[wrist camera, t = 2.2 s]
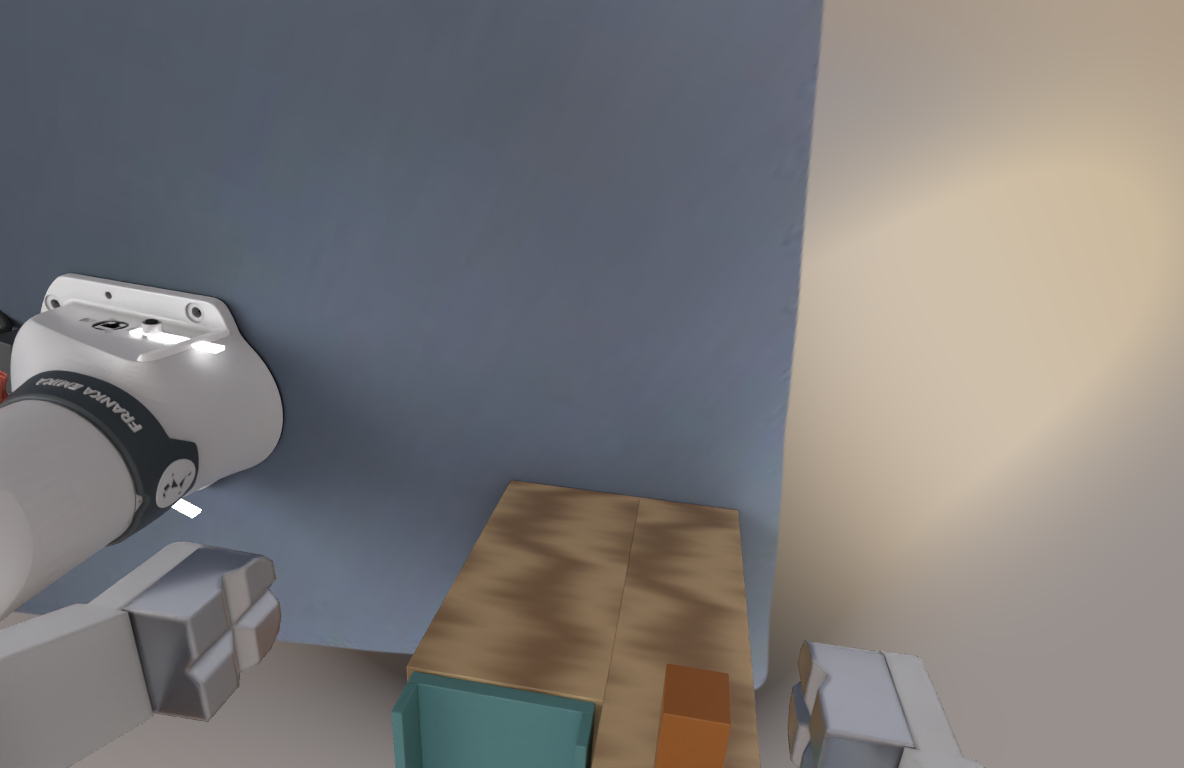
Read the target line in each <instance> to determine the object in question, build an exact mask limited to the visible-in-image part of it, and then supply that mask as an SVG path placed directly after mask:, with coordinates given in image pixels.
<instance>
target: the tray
mask: <svg viewBox="0 0 1184 768" xmlns="http://www.w3.org/2000/svg"><path fill="white" fill-rule="evenodd" d="M595 705H596V704H595V703H594V702H588V701H582V700H576V699H571V698H565V697H559V696H554V695H548V694H542V693H536V692H531V691H525V690H519V689H513V688H508V687H502V686H496V685H491V684H485V683H479V682H473V681H468V680H462V679H456V678H450V677H445V676H439V675H433V674H428V673H422V672H416V671H414V672H413V673H412V675H411V677H410V679H409V680H408V683H407V684H406V686H405V688H404V690H403V691H402V693H401V695H400V697H399V699H398V701H397V703H396V704H395V706H394V708H393V710H392V713H391V714H392V726H393V740H394V752H395V766H396V768H591V758H592V745H593V732H594V718H595Z"/></svg>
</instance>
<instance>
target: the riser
mask: <svg viewBox="0 0 1184 768" xmlns="http://www.w3.org/2000/svg"><path fill="white" fill-rule="evenodd" d="M667 664H674V665H680V666H686V667H693V668H699V669H705V670H711V671H717V672H723V673H728V674H729V685H730V708H731V729H730V735H729V740H728V746H727V751H726V757H725V763H724V768H761V765H760V753H759V742H758V730H757V719H756V707H755V696H754V684H753V673H752V661H751V650H750V639H749V627H748V616H747V604H746V593H745V581H744V570H743V559H742V547H741V536H740V524H739V513H738V510H732V509H725V508H717V507H710V506H702V505H694V504H687V503H679V502H672V501H664V500H657V499H649V498H640V497H634V496H627V495H619V494H611V493H604V492H596V491H589V490H581V489H574V488H566V487H558V486H551V485H543V484H536V483H528V482H521V481H513V480H511V481H510V483H509V485H508V487H507V489H506V490H505V492H504V494H503V496H502V497H501V499H500V501H499V503H498V505H497V506H496V508H495V510H494V512H493V513H492V515H491V517H490V519H489V521H488V522H487V524H486V526H485V528H484V530H483V531H482V533H481V535H480V537H479V538H478V540H477V542H476V544H475V546H474V547H473V549H472V551H471V553H470V554H469V556H468V558H467V560H466V562H465V563H464V565H463V567H462V569H461V570H460V572H459V574H458V576H457V578H456V579H455V581H454V583H453V585H452V587H451V588H450V590H449V592H448V594H447V595H446V597H445V599H444V601H443V603H442V604H441V606H440V608H439V610H438V611H437V613H436V615H435V617H434V619H433V620H432V622H431V624H430V626H429V628H428V629H427V631H426V633H425V635H424V636H423V638H422V640H421V642H420V644H419V645H418V647H417V649H416V651H415V652H414V654H413V656H412V658H411V660H410V661H409V663H408V665H407V679H408V680H409V679H410V677H411V675H412V673H413V672H414V671H416V672H422V673H428V674H433V675H439V676H445V677H450V678H456V679H462V680H468V681H473V682H479V683H485V684H491V685H496V686H502V687H508V688H513V689H519V690H525V691H531V692H536V693H542V694H548V695H554V696H559V697H565V698H571V699H576V700H582V701H588V702H594V703H595V704H596V705H595V718H594V732H593V745H592V758H591V768H654V760H655V752H656V744H657V736H658V728H659V720H660V712H661V704H662V696H663V688H664V680H665V672H666V665H667Z"/></svg>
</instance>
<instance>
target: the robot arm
mask: <svg viewBox="0 0 1184 768" xmlns="http://www.w3.org/2000/svg"><path fill="white" fill-rule="evenodd" d="M198 308H199V309H200V311H201V314H200V313H199V311H198ZM0 325H1V329H0V403H1V404H0V622H1V621H2V620H3V619H4V618H6V617H7V616H8V615H9V614H10V613H12V612H13V611H14V610H16V609H17V608H18V607H19V606H21V605H22V604H23V603H25V602H26V601H27V600H29V599H30V598H32V597H33V596H35V595H36V594H37V593H39V592H40V591H42V590H43V589H45V588H46V587H47V586H49V585H50V584H52V583H53V582H55V581H56V580H57V579H59V578H60V577H62V576H63V575H64V574H66V573H67V572H69V571H70V570H72V569H73V568H74V567H76V566H77V565H79V564H80V563H82V562H83V561H84V560H86V559H87V558H89V557H90V556H92V555H93V554H95V553H96V552H97V551H99V550H100V549H102V548H103V547H106V546H111V545H114V544H117V543H120V542H122V541H123V540H125V539H127V538H128V537H130V536H131V535H133V534H135V533H136V532H138V531H139V530H141V529H142V528H144V527H145V526H147V525H148V524H150V523H151V522H153V521H154V520H156V519H157V518H158V517H160V516H161V515H163V514H164V513H165V512H166V511H168V510H169V509H170V508H171V507H172V508H174V509H176V510H178V511H180V512H182V513H184V514H186V515H188V516H189V517H191V518H193V517H195V516H196V515H197V514H199V513H200V512H201V509H199V508H197V507H196V506H194V505H192V504H190V503H188V502H186V501H184V500H182V499H181V498H183V497H185V496H187V495H189V494H190V493H192V492H194V491H196V490H202V489H204V488H206V487H208V486H210V485H212V484H213V483H215V482H216V481H217V480H219V479H222V478H224V477H226V476H228V475H231V474H234V473H236V472H239V471H242V470H245V469H248V468H251V467H253V466H255V465H257V464H259V463H261V462H262V461H263V460H265V459H266V458H267V457H268V456H269V455H270V454H271V452H272V451H273V450H274V448H275V447H276V445H277V443H278V441H279V438H280V435H281V431H282V424H283V410H282V403H281V398H280V394H279V391H278V388H277V386H276V383H275V381H274V379H273V377H272V375H271V373H270V371H269V370H268V368H267V367H266V365H265V364H264V362H263V361H262V359H261V358H260V357H259V356H258V354H257V353H256V352H255V351H254V350H253V349H252V348H251V347H250V346H249V344H248V343H247V342H246V341H245V340H244V338H243V337H242V336H241V334H240V333H239V330H238V328H237V326H236V323H235V321H234V319H233V317H232V315H231V313H230V311H229V309H228V308H227V306H226V305H225V304H224V303H223V302H222V301H221V300H219V299H217V298H213V297H208V296H202V295H196V294H190V293H184V292H179V291H173V290H167V289H161V288H155V287H150V286H144V285H138V284H132V283H126V282H120V281H115V280H109V279H103V278H97V277H91V276H85V275H79V274H70V273H68V274H65V275H62V276H59V277H57V278H56V279H55V280H54V282H53V283H52V284H51V286H50V287H49V289H48V291H47V293H46V295H45V298H44V301H43V304H42V309H41V313H40V314H38V315H35V316H34V317H32V318H30V319H29V320H28V321H26V322H25V323H24V324H23V325H22V327H21V328H20V329H17V330H13V331H12V328H13V327H12V324H11V322H10V320H9V319H8V317H7V316H6V315H5V314H4V313H2V312H1V311H0ZM7 392H8V393H11V394H10V395H9V396H8V394H7ZM275 579H276V575H275V570H274V565H273V561H272V560H271V559H269V558H267V557H266V556H264V555H258V554H253V553H247V552H242V551H236V550H231V549H226V548H220V547H215V546H205V545H201V544H195V543H189V542H184V541H180V542H175V543H170V544H168V545H167V546H166V547H164V548H163V549H162V550H160V551H159V552H158V553H156V554H155V555H153V556H152V557H151V558H149V559H148V560H147V561H145V562H144V563H143V564H141V565H140V566H139V567H137V568H136V569H134V570H133V571H132V572H130V573H129V574H128V575H126V576H125V577H124V578H122V579H121V580H119V581H118V582H117V583H115V584H114V585H113V586H111V587H110V588H109V589H107V590H106V591H104V592H103V593H102V594H100V595H99V596H98V597H96V598H95V599H94V600H92V601H91V602H89V603H88V604H87V605H86V604H80V603H76V604H73V605H70V606H68V607H65V608H62V609H59V610H56V611H53V612H50V613H47V614H44V615H42V616H39V617H36V618H33V619H30V620H27V621H24V622H21V623H19V624H16V625H13V626H10V627H7V628H4V629H1V630H0V768H68V767H70V766H72V765H73V764H75V763H77V762H78V761H80V760H82V759H83V758H85V757H86V756H88V755H90V754H92V753H93V752H95V751H97V750H98V749H100V748H102V747H103V746H105V745H107V744H108V743H110V742H112V741H113V740H115V739H117V738H118V737H120V736H122V735H123V734H125V733H127V732H128V731H130V730H132V729H133V728H135V727H137V726H138V725H140V724H142V723H143V722H145V721H147V720H148V719H150V718H152V717H153V716H154V714H153V713H156V714H162V715H168V716H174V717H181V718H187V719H193V720H199V721H205V722H208V721H209V720H210V719H211V718H212V717H213V716H214V715H215V713H216V712H217V711H218V710H219V709H220V708H221V706H222V705H223V704H224V703H225V702H226V701H227V699H228V698H229V697H230V696H231V695H232V694H233V693H234V691H235V690H236V689H237V688H238V687H239V680H240V673H241V672H243V671H245V670H247V669H249V668H251V667H253V666H255V665H257V664H259V663H260V662H261V660H262V659H263V658H264V657H265V655H266V654H267V653H268V652H269V650H270V649H271V648H272V645H273V643H274V641H275V639H276V636H277V634H278V632H279V629H280V621H281V609H280V602H279V601H278V599H277V598H276V597H275V595H274V594H273V593H272V592H271V590H270V589H269V588H270V586H271V585H272V583H273V582H274V581H275ZM798 666H799V673H800V679H801V681H800V682H799V683H798V684H796V685H795V686H794V687H793V688H792V693H791V699H790V705H789V718H788V740H789V750H790V759H791V761H792V762H793V763H794V765H795V766H796V767H797V768H985V767H983V766H982V765H981V764H980V763H979V762H978V761H976V760H972V759H966V758H964V756H963V754H962V751H961V749H960V747H959V744H958V742H957V740H956V737H955V735H954V733H953V730H952V728H951V725H950V723H949V721H948V718H947V716H946V714H945V711H944V709H943V707H942V704H941V702H940V699H939V697H938V695H937V692H936V690H935V688H934V685H933V683H932V681H931V678H930V676H929V674H928V671H927V669H926V667H925V664H924V662H923V661H922V660H921V659H920V658H919V657H918V656H915V655H907V654H901V653H893V652H885V651H879V652H877V651H872V650H866V649H859V648H852V647H845V646H839V645H832V644H825V643H819V642H812V641H806V640H805V641H804V643H803V645H802V647H801V650H800V655H799V660H798Z"/></svg>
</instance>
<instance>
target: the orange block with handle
mask: <svg viewBox="0 0 1184 768" xmlns="http://www.w3.org/2000/svg"><path fill="white" fill-rule="evenodd" d="M730 729H731V708H730V685H729V674H728V673H723V672H717V671H711V670H705V669H699V668H693V667H686V666H680V665H674V664H667V665H666V672H665V680H664V688H663V696H662V704H661V712H660V720H659V728H658V736H657V744H656V752H655V760H654V768H724V763H725V757H726V751H727V746H728V740H729V735H730Z"/></svg>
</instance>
